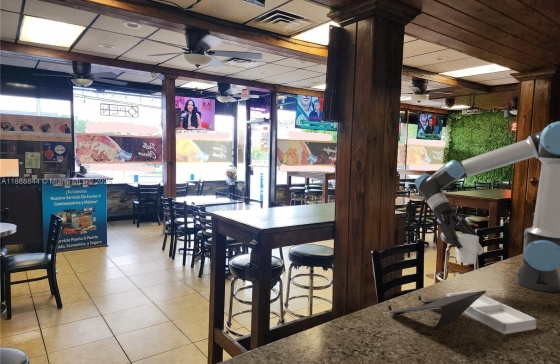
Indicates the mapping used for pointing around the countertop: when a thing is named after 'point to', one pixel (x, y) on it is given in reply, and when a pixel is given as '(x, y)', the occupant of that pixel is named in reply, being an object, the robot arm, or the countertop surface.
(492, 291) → the countertop surface
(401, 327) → the countertop surface
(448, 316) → the portable electronic device stand
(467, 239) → the white cup
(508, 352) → the countertop surface
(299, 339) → the countertop surface
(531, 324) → the white divided tray
